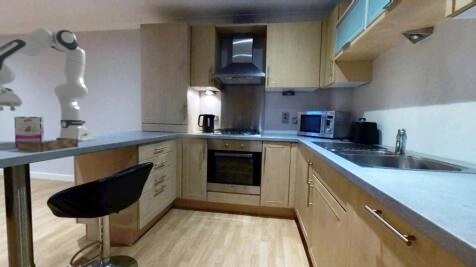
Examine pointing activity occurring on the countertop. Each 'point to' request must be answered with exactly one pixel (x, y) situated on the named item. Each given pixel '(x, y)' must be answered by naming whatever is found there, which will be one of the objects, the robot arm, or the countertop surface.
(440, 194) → the countertop surface
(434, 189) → the countertop surface
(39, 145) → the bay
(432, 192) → the countertop surface
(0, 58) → the robot arm
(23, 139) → the candy bar box
